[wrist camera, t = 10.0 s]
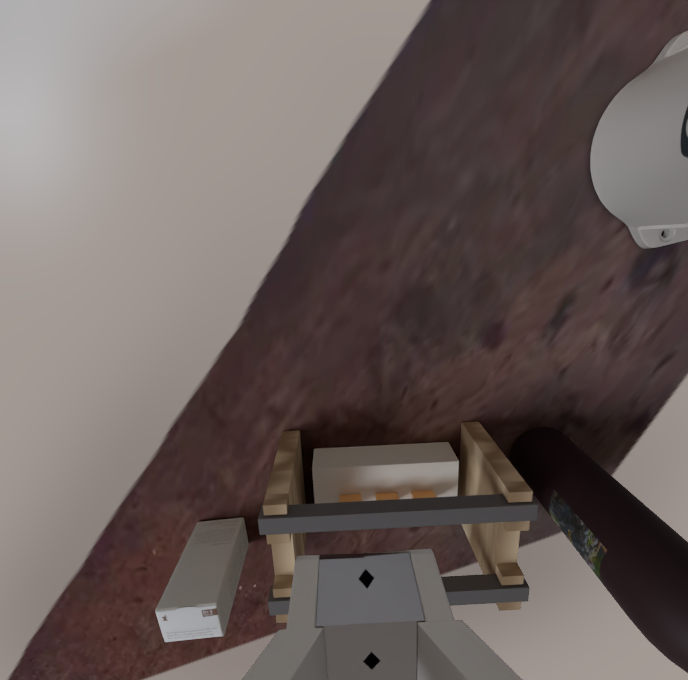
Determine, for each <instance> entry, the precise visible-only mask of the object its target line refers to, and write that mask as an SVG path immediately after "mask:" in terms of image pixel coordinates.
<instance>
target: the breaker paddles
mask: <svg viewBox="0 0 688 680" xmlns="http://www.w3.org/2000/svg"><path fill="white" fill-rule="evenodd" d="M411 496H412V499H413V498H432V497H437V496H436V495H435V493H434V491H433V490H427V491H411ZM375 497H376V500H394V499H399V496H398V494H397V492H388V493H375ZM355 501H362V498H361V494H350V495H339V502H355Z"/></svg>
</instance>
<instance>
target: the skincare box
mask: <svg viewBox="0 0 688 680" xmlns="http://www.w3.org/2000/svg"><path fill="white" fill-rule="evenodd" d="M248 545H249V543H248V537H247V532H246V526H245V521H244V518H243V517H241V518H232V519H222V520H212V521H202V522H197V524H196V526H195V528H194V530H193V532H192V535H191V537H190V539H189V541H188V543H187V545H186V547H185V549H184V551H183V553H182V556H181V558H180V560H179V562H178V564H177V566H176V568H175V570H174V572H173V574H172V576H171V579H170V581H169V583H168V585H167V587H166V589H165V591H164V594H163V596H162V598H161V600H160V602H159V604H158V606H157V608H156V616H157V619H158V622H159V626H160V629H161V632H162V635H163V638H164V640H165V642H171V641H180V640H190V639H199V638H208V637H218V636H224V634H225V631H226V627H227V624H228V620H229V616H230V612H231V608H232V605H233V601H234V597H235V593H236V590H237V586H238V582H239V578H240V575H241V571H242V567H243V564H244V560H245V556H246V552H247V548H248Z"/></svg>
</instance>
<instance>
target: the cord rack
mask: <svg viewBox="0 0 688 680" xmlns="http://www.w3.org/2000/svg"><path fill="white" fill-rule="evenodd" d="M489 494H503V495H504V496H505V498H506V499H507V501H508V502H509V503H511V502H530V501H532V495H533V491H532V490H531V488H530V487H529V486H528V485H527V483H526V482H525V481H524V479H523V478H522V477H521V476H520V474H519V473H518V472H517V470H516V469H515V468H514V467H513V465H512V464H511V463H510V461H509V460H508V459H507V458H506V456H505V455H504V454H503V452H502V451H501V450H500V448H499V447H498V446H497V445H496V443H495V442H494V441H493V439H492V438H491V437H490V436H489V434H488V433H487V432H486V430H485V429H484V428H483V427H482V425H481V424H480V423H479V421H477V422H462V424H461V447H460V470H459V493H458V496H470V495H489ZM298 504H306V498H305V486H304V474H303V462H302V450H301V438H300V430H298V431H283V432H282V436H281V440H280V443H279V447H278V451H277V454H276V458H275V462H274V466H273V469H272V473H271V477H270V480H269V484H268V488H267V491H266V495H265V499H264V503H263V512H264V515H282V514H287V513H288V507H289V505H298ZM529 523H530V521H514V522H495V523H477V524H462V526H463V529H464V531H465V533H466V536H467V538H468V540H469V542H470V545H471V547H472V549H473V552H474V554H475V556H476V558H477V561H478V563H479V565H480V567H481V570H482V572H483V574H484V575H486V574H496V575H497V577H498V579H499V581H500V583H501V585H518V584H523V580H524V575H523V573H522V571H521V569H520V568H519V566H518V564H517V556H518V546H519V536H520V531H526V530H529ZM306 534H307V533H288V534H269V535H266V538H267V544H271V545H272V554H273V562H274V571H275V579H274V585H273V596H274V598H280V597H291V589H292V581H293V573H294V565H295V561H296V558H297V556H304V555H305V545H306ZM496 604H497V606H498V608H499V610H517V609H521V602H503V603H496ZM287 620H288V614H286V615H276V621H277V623H283V622H287Z"/></svg>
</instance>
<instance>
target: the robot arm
mask: <svg viewBox="0 0 688 680" xmlns="http://www.w3.org/2000/svg"><path fill="white" fill-rule="evenodd" d="M590 168H591V176H592V181H593V185H594V188H595V190H596V193H597V195H598V197H599V199H600V200H601V202H602V203H603V205H604V206H605V207H606V208H607V209H608V210H609V211H610V212H611V213H612V214H613V215H614V216H616V217H617V218H619V219H620V220H621V221H623V222H624V223H625V224H626V225H627V226H628V228H629V230H630V232H631V234H632V236H633V238H634V240H635V242H636V243H637V244H638V245H639V246H640V247H641V248H644V249H647V248H656V247H661V246H665V245H669V244H673V243H677V242H681V241H685V240H688V31H686V32H683V33H681V34H679V35H677V36H675V37H673V38H672V39H671V40H670V41H669V42H668V43H667V44H666V46H665V47H664V48H663V50H662V51H661V52H660V54H659V55H658V57H657V58H656V60H655V61H654V63H653V64H652V65H651V66H650V67H649V68H648V69H647V70H645V71H644V72H643V73H641V74H640V75H639V76H637V77H636V78H635V79H633V80H632V81H631V82H629V83H628V84H627V85H626V86H625V87H624V88H623V89H622V90H621V91H620V92H619V93H618V94H617V95H616V96H615V97H614V99H613V100H612V101H611V103H610V104H609V105H608V107H607V109H606V110H605V112H604V114H603V115H602V117H601V119H600V121H599V124H598V126H597V129H596V132H595V135H594V138H593V142H592V148H591V156H590ZM662 231H664V234H663V236H661V233H662ZM242 680H522V679H521V678H520V677H519V676H518V675H517V674H516V673H515V672H514V671H513V670H512V669H511V668H510V667H509V666H508V665H507V664H506V663H505V662H504V661H503V660H502V659H501V658H500V657H499V656H498V655H497V654H496V653H495V652H494V651H493V650H492V649H491V648H490V647H489V646H488V645H487V644H486V643H485V642H484V641H483V640H482V639H481V638H480V637H479V636H478V635H476V634H475V632H474V631H473V630H471V629H470V628H469V627H468V626H467V625H466V624H465V623H464V622H463V621H462V620H454V617H453V614H452V611H451V608H450V604H449V601H448V598H447V595H446V591H445V588H444V585H443V582H442V579H441V575H440V572H439V569H438V566H437V563H436V559H435V556H434V553H433V551H432V550H431V549H419V550H408V551H407V550H404V551H389V552H373V553H364V554H327V555H308V556H297V558H296V561H295V565H294V573H293V581H292V589H291V597H290V604H289V612H288V620H287V628H286V629H285V630H279V631H278V632H277V633H276V635H275V636H274V637H273V639H272V640H271V641H270V643H269V644H268V645H267V647H266V648H265V649H264V651H263V652H262V653H261V655H260V656H259V657H258V659H257V660H256V661H255V663H254V664H253V665H252V667H251V668H250V669H249V671H248V672H247V673H246V675H245V676H244V677H243V679H242Z"/></svg>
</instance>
